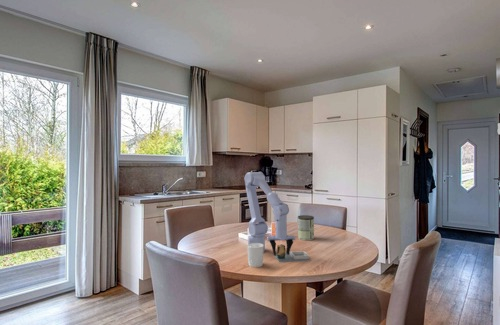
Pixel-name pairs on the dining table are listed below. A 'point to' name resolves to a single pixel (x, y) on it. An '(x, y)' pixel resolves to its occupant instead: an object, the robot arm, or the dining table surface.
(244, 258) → the dining table surface
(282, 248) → the cell
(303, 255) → the gray board
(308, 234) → the coffee can
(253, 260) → the white cup
